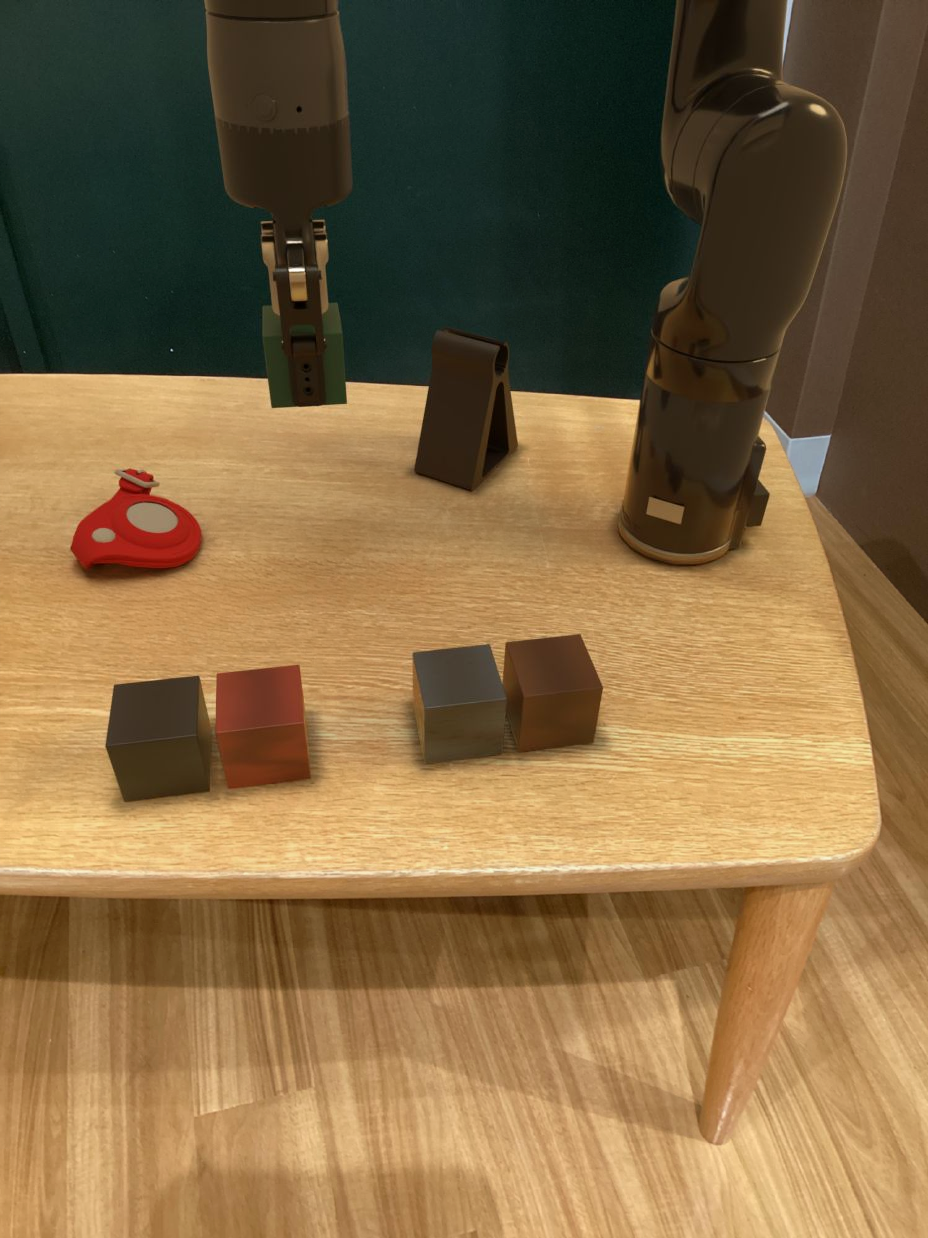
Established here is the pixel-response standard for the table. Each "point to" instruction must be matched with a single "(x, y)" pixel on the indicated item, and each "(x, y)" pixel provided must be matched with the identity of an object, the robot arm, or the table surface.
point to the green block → (279, 362)
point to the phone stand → (466, 410)
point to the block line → (277, 728)
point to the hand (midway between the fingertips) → (308, 383)
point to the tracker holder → (137, 528)
